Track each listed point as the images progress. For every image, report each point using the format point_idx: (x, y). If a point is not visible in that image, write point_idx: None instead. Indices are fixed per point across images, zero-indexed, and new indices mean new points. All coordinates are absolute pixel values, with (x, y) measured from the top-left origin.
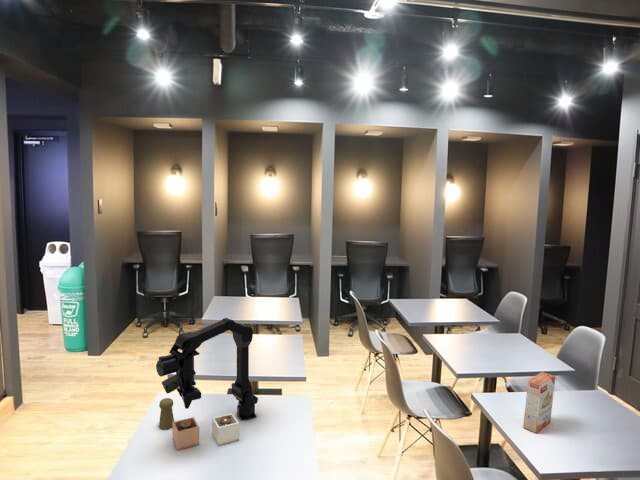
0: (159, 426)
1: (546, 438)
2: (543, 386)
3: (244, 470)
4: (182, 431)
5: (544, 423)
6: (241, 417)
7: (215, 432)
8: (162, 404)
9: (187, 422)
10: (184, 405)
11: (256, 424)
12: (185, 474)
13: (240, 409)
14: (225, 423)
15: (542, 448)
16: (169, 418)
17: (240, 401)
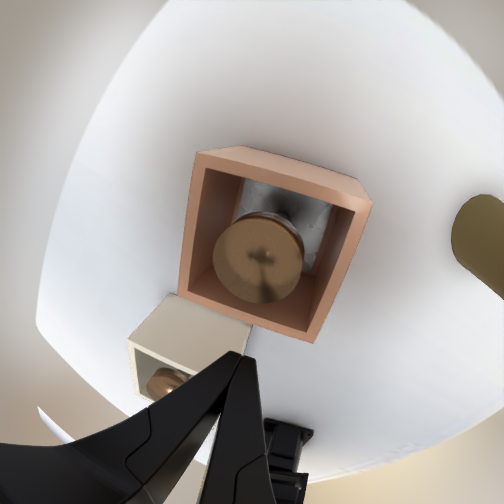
0: (494, 198)
1: (70, 440)
2: None
3: (54, 261)
4: (191, 190)
5: None
6: (275, 425)
7: (190, 329)
8: None
9: (242, 272)
10: (257, 378)
11: (218, 417)
12: (92, 116)
13: (272, 448)
14: (152, 376)
15: (60, 430)
16: (481, 252)
17: (281, 471)
